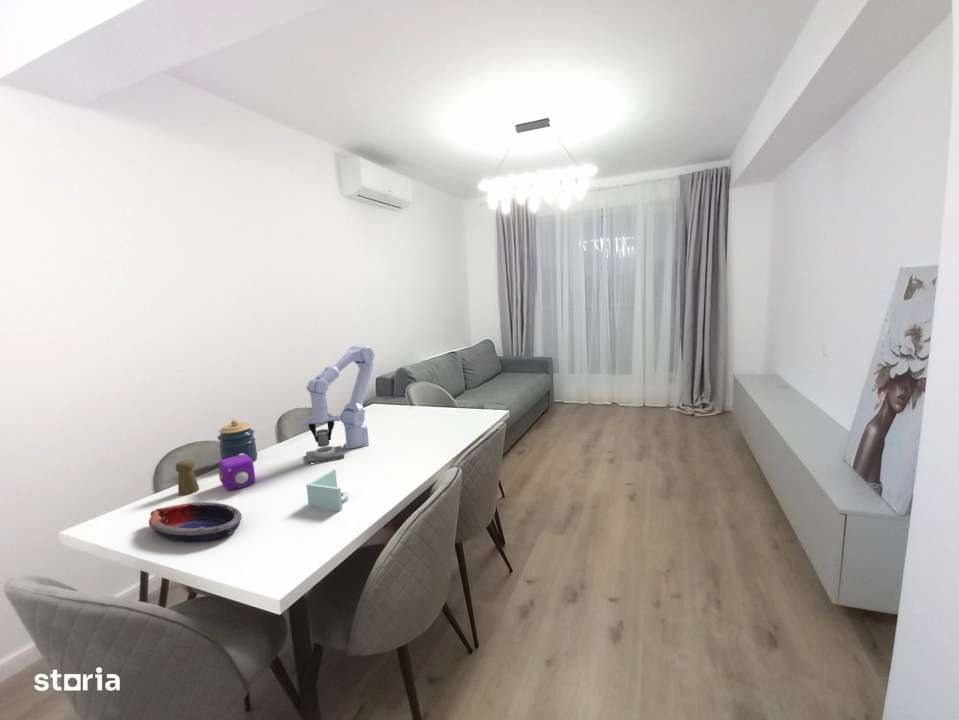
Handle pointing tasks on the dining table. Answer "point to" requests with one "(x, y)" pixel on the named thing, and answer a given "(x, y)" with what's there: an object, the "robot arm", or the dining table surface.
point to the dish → (195, 521)
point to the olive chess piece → (186, 478)
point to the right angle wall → (326, 492)
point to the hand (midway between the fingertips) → (323, 440)
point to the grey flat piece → (324, 454)
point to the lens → (322, 437)
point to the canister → (237, 440)
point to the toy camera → (236, 472)
